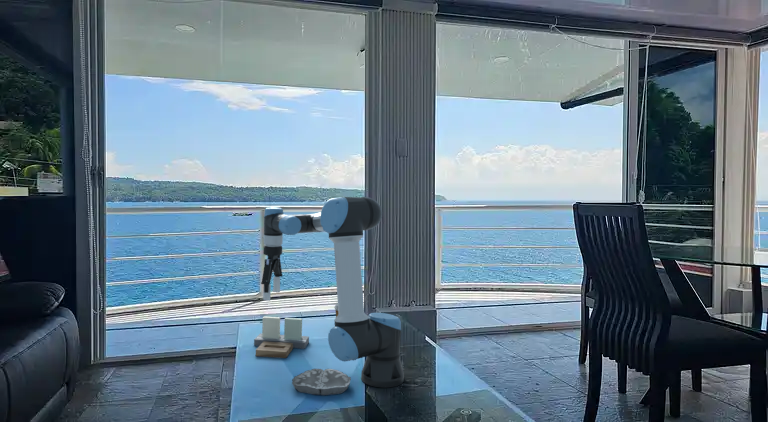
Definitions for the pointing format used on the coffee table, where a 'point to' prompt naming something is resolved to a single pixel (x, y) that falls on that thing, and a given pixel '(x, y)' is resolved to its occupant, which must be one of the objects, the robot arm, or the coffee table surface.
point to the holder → (274, 349)
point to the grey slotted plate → (283, 341)
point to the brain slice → (321, 382)
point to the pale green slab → (271, 327)
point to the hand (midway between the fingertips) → (271, 296)
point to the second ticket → (293, 328)
